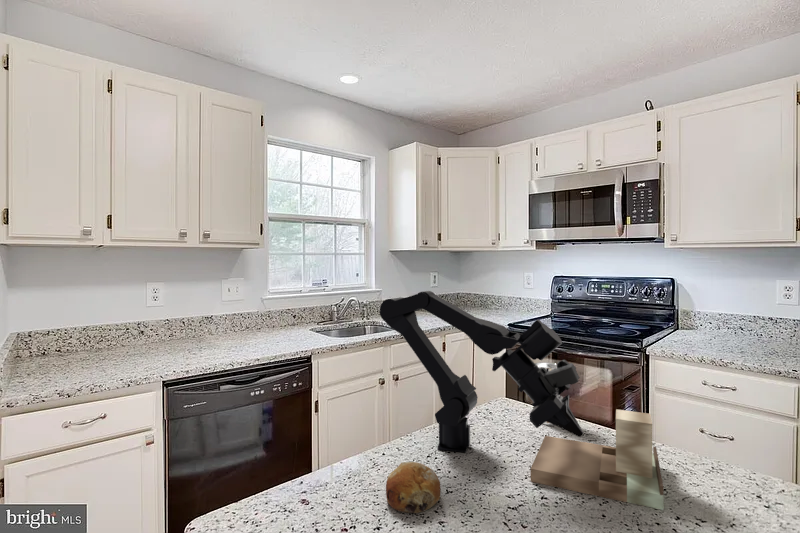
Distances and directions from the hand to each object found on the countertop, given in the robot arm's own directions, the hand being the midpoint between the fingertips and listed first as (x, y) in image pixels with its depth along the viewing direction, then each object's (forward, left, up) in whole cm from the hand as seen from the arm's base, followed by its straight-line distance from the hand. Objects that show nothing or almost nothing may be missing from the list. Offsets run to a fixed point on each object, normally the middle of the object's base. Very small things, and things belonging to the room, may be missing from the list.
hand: (581, 434), depth 88 cm
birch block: (+9, -2, -5) cm, 10 cm away
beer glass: (-5, +28, -7) cm, 29 cm away
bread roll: (-31, -19, -8) cm, 37 cm away
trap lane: (+3, -1, -7) cm, 8 cm away
